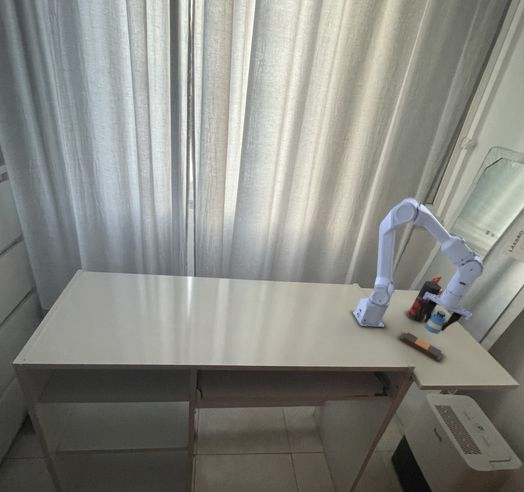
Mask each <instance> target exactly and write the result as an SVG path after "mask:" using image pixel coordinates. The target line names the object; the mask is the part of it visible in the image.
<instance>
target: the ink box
mask: <svg viewBox="0 0 524 492" xmlns="http://www.w3.org/2000/svg"><path fill="white" fill-rule="evenodd" d="M442 277H443V276H438V277H435V278H432V279H431V280H430V281H431V282H434V283H436V284H438V285H439V282H440V281H441V279H442ZM443 292H444V290H443V289H442V288H441V290H440V292H439V293H438V295H437V296H440V297H441V296H442V294H443Z"/></svg>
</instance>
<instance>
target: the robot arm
mask: <svg viewBox="0 0 524 492" xmlns="http://www.w3.org/2000/svg"><path fill="white" fill-rule="evenodd" d="M411 222H412V225H413V226H422V227H423V228H424V229H426V231H428V232H429V233H430V234H431V235H432V236H433V237H434V239H436V240H437V241H438V242H439V243H440V244H441V247H440V250H441V252H442V253H443V254H444V255H445V256H446V257H447V259H449V260H450V262H451V263H453V264H454V265H455V266H456V267H458V269H457V270H456V272H455V274H454V275H452V277H451V278H450V280H449V282H448V284H447V286H446V288H445V289H444V290H443V292H442V293H441V295H440V296H437V295H434V294H431V293H428V292H426V293H425V295H424V297H423V299H425V300H426V299H427V300H429V302H428V303H427V314H426V315H425V318H424V321H423V322H424V323H426V322H427V321H428V319H429V317H430V316H431V314H432V313H434V310H435V309H436V307H437V306H439V307H442V308H443V309H445V310H448V311H450V312H452V313H451V315H450V317H449V318H448V319H447V322H446V323H445V325H444V327H443V328H442V329H441V331H440V332H444V331H445V330H446V329H447V328H448V327H449V326H451V325H452V324H454V323H456V322H458V321H459V320H460V319H461V318H464V320H466V321H469V320H470V319H471V317H472V316H473V313H472V312H471V311H469V310H467V309H466V308H464V307H462V306H461V305H460V304H461V303H462V302H463V300H464V299H465V297H466V296H467V294H468V292H469V291H470V289H471V288H472V286H473V284H474V282H475V281H476V280H477V279H478V278H481V276H482V275H483V272H484V261H483V259H482V257H481V256H480V254H478V253H477V252H476V251H473V250H472V249H471V248H470V247H469V246H468V245H467V244H466V243H467V241H466V240H465V238H460V237H459V236H453V235H451V234H450V233H449V232H448V230H447V229H446V228H445V227H444V226H443V225H442V224H441V223H440V222H439V220H438V219H437V218H436V217H435V216H434V215H433V213H432V212H431V211H430V210H429V209H428V208H427V207H426V206H425V205H424V204H422V203H421V204H420V201H419V200H418V199H417V198H414V197H406V198H404V199H403V200H401V201H399V202H398V203H397V204H395V205H394V207H393V208H392V209H390V211H389V212H388V214H387V215H386V216H385V218H384V219H382V221H381V222H380V223H379V233H378V247H377V248H378V251H377V268H376V278H375V281H374V286H373V290H372V292H371V293H370V295H369V296H368V297H365V298H361V299H359V302H358V303H357V306H356V308H355V309H354V311H353V312H352V314H353V316H354V317H355V319H356V321H357V322H358V323H359V325H360V327H373V328H377V327H378V328H384V327H385V324H384V323H383V321H382V320H383V318H384V316H385V314H386V312H387V310H388V308H389V307H390V303H391V298H392V296H393V294H394V293H395V290H396V285H395V284H394V276H393V269H394V268H393V267H394V256H395V255H394V254H395V243H396V242H395V241H396V231H397V230H398V229H399V228H401V227H402V226H405V225H408V224H409V223H411Z"/></svg>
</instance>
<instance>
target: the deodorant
mask: <svg viewBox="0 0 524 492" xmlns="http://www.w3.org/2000/svg"><path fill="white" fill-rule="evenodd" d="M441 289H442V286H441V285H439V283H438V284H436V283H434V282H431V280H426V281H424V283H423V285H422V286H421V288H420V290H419V292H418V294H417V296H416V297H415V299H414V301H413V303H412V305H411V307H410V308H409V310H408V312H407V317H408V318H410V319H411V320H412V321H415V322H423V320H425V318H426V314H427V303H428V302H429V300H427V299H426V300H425V299H423V297H424V295H425V293H426V292H428V293H431V294H434V295H438V293H439V292H440V290H441Z"/></svg>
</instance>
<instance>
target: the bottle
mask: <svg viewBox="0 0 524 492" xmlns="http://www.w3.org/2000/svg"><path fill="white" fill-rule="evenodd" d="M446 315H447V314H446V312H445V311H443V310H438V311H437V312H432V314H431V316H430V317H429V319H428V321H427V322H425V324H424V328H425V330H427V331H428V332H430V333H432V334H435V335H439V334H440V333H441V332H442V331H441V329H442V328H443V327H444V325H445V324H446V322H447V321H448V319H447V318H446Z"/></svg>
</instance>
